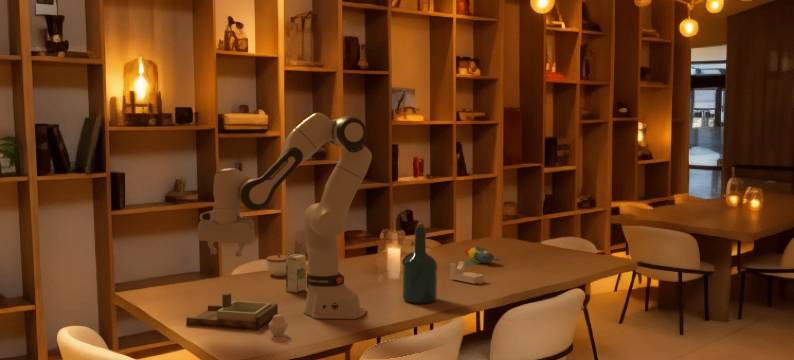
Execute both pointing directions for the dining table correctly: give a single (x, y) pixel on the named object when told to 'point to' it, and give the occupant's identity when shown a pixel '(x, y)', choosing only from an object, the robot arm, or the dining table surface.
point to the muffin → (278, 325)
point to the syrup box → (295, 273)
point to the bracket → (464, 274)
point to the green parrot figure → (478, 256)
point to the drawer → (240, 309)
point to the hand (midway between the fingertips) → (226, 255)
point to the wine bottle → (419, 272)
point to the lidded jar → (277, 265)
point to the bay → (211, 320)
